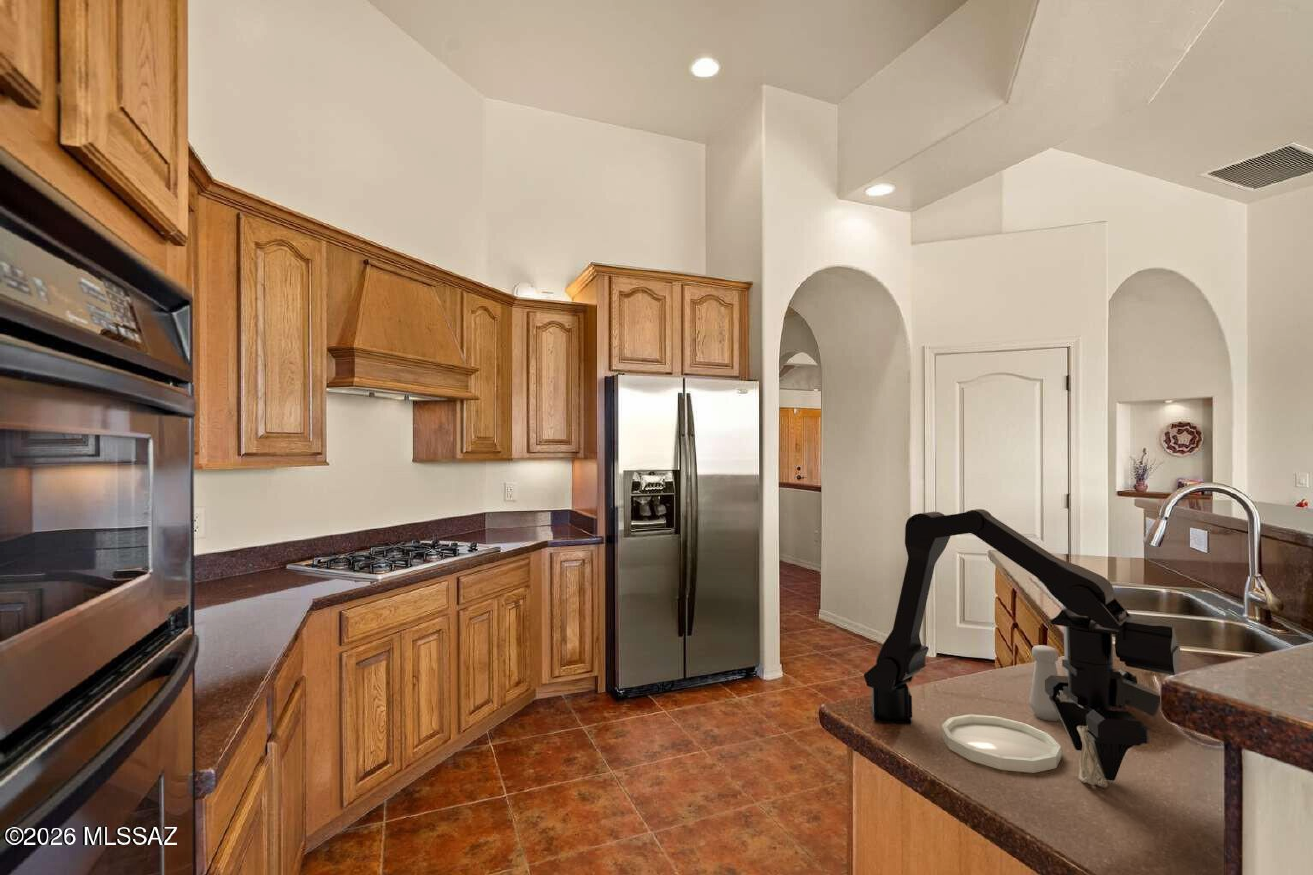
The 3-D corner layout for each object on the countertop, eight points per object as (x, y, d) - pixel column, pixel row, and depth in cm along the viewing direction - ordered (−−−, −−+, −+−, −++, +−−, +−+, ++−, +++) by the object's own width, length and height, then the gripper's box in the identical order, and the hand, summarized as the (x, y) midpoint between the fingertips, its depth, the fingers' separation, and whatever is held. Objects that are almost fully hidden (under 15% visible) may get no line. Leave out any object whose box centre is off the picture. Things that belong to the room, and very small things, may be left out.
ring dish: (958, 765, 96) (958, 754, 96) (933, 721, 113) (933, 711, 113) (1079, 776, 93) (1078, 764, 93) (1034, 729, 109) (1034, 718, 109)
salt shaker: (1071, 724, 111) (1068, 652, 112) (1036, 721, 112) (1034, 650, 113) (1057, 711, 117) (1054, 643, 118) (1024, 709, 118) (1022, 641, 119)
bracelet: (1080, 791, 89) (1078, 735, 89) (1077, 768, 95) (1075, 716, 96) (1114, 799, 87) (1112, 741, 87) (1108, 774, 93) (1106, 721, 94)
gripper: (1192, 684, 81) (1197, 804, 80) (1117, 643, 99) (1121, 741, 99) (1097, 678, 83) (1102, 795, 83) (1041, 640, 102) (1045, 735, 101)
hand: (1093, 764), depth 91 cm, fingers open, 9 cm apart
